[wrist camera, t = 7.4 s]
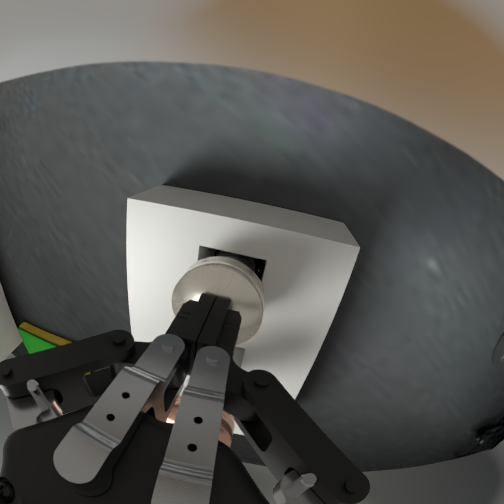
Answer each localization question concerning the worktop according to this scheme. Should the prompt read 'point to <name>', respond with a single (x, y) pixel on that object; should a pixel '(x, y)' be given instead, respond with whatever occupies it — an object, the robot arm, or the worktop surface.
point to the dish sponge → (39, 339)
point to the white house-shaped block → (7, 329)
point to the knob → (225, 288)
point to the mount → (249, 244)
